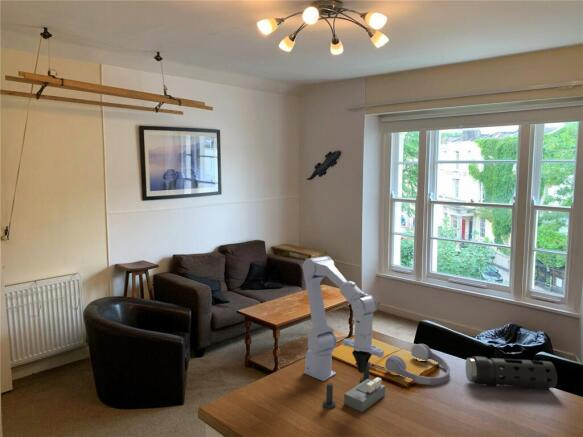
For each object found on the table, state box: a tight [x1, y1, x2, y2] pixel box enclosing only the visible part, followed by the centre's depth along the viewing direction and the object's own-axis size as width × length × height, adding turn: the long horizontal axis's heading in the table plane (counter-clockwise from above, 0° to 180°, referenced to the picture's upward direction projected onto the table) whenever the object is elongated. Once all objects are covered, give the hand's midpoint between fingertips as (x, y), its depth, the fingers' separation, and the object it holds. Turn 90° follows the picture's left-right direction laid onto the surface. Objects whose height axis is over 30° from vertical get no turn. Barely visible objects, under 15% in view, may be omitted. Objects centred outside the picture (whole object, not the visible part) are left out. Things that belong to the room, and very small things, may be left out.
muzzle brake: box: [465, 355, 558, 391], centre depth 155 cm, size 10×28×10 cm, turn 84°
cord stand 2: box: [360, 361, 373, 383], centre depth 157 cm, size 4×4×7 cm
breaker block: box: [343, 376, 386, 413], centre depth 145 cm, size 7×14×6 cm, turn 138°
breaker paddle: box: [366, 380, 375, 393], centre depth 143 cm, size 2×3×2 cm, turn 138°
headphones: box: [384, 343, 451, 386], centre depth 165 cm, size 22×7×20 cm
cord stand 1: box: [322, 383, 336, 410], centre depth 141 cm, size 4×4×7 cm
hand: (361, 371), depth 145 cm, fingers closed
